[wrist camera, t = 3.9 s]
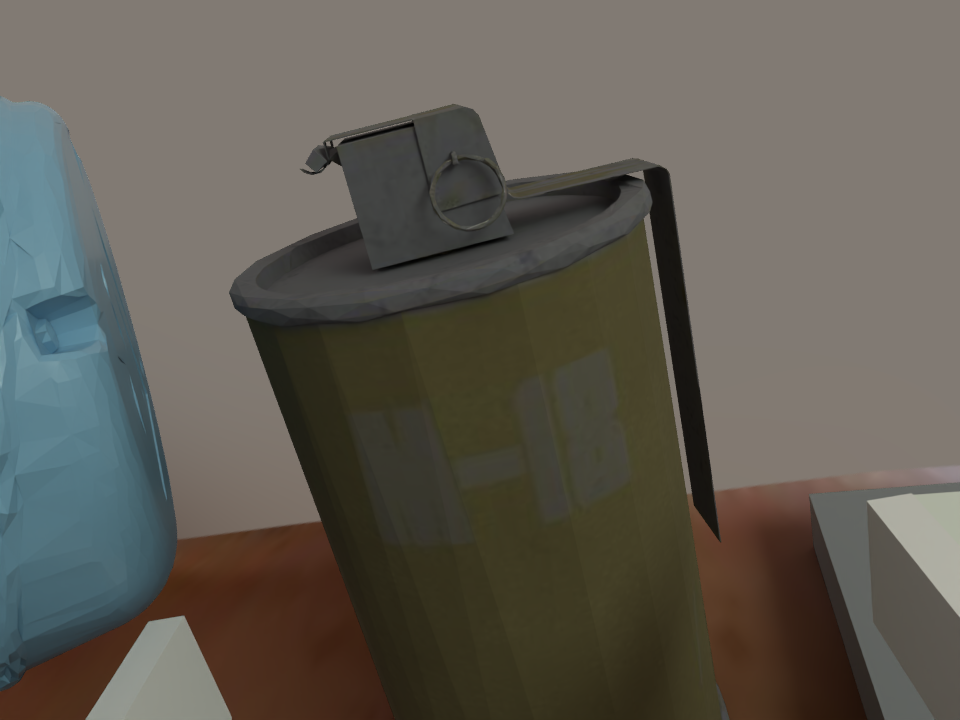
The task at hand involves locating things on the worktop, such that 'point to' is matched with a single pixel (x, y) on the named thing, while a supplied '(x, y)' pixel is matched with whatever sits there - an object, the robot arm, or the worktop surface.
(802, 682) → the worktop surface
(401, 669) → the canister
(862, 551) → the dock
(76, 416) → the robot arm
